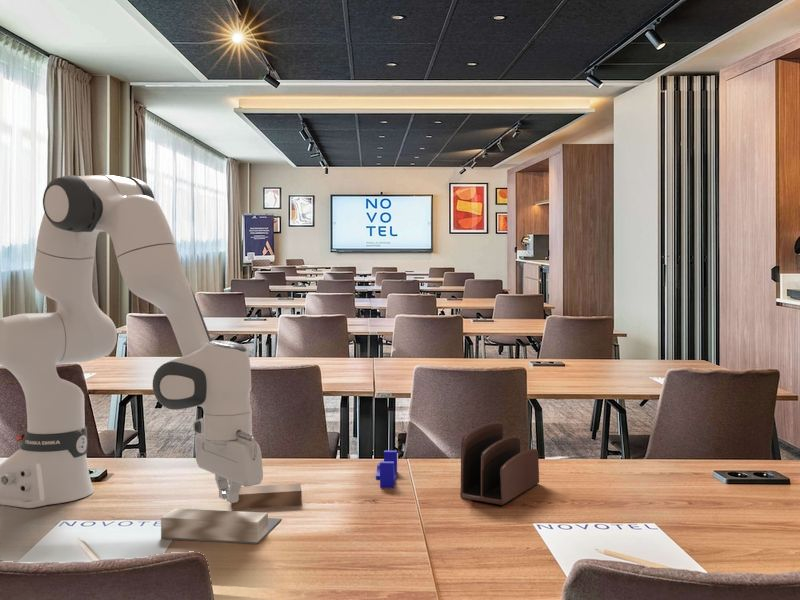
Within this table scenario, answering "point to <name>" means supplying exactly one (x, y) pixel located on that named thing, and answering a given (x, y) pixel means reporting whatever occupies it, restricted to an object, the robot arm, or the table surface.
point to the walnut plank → (269, 496)
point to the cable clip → (387, 469)
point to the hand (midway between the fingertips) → (228, 500)
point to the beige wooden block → (214, 525)
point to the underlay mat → (271, 524)
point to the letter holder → (495, 466)
